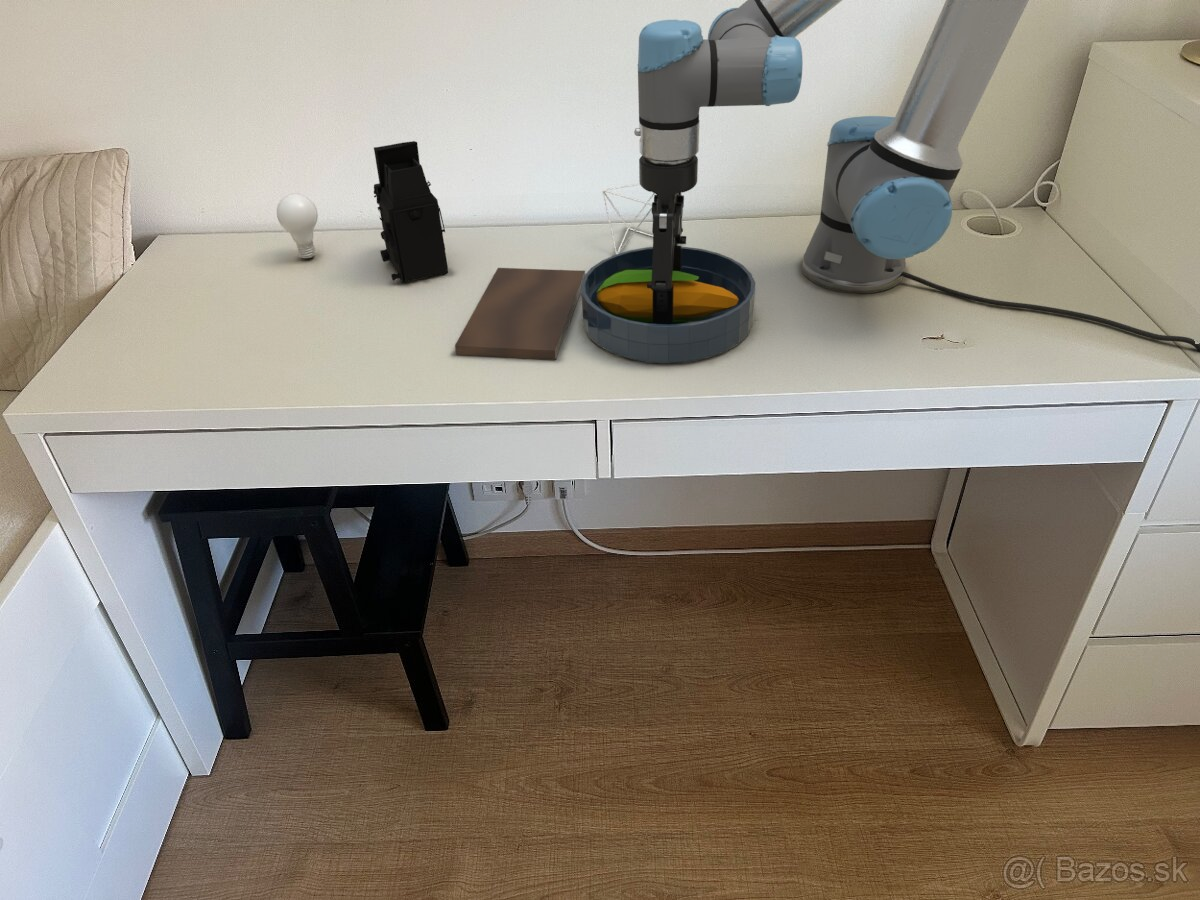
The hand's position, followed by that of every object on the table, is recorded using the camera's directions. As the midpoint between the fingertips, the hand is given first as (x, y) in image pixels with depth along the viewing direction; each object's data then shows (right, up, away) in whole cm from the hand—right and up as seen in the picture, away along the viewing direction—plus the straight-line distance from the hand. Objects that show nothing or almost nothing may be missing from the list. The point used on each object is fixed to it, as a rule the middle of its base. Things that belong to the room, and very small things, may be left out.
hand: (667, 307), depth 128 cm
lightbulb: (-59, +12, +23) cm, 64 cm away
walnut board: (-21, 0, +4) cm, 21 cm away
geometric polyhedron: (-3, +14, +23) cm, 27 cm away
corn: (0, -2, +1) cm, 2 cm away
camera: (-40, +10, +20) cm, 46 cm away
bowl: (0, -2, +1) cm, 2 cm away
